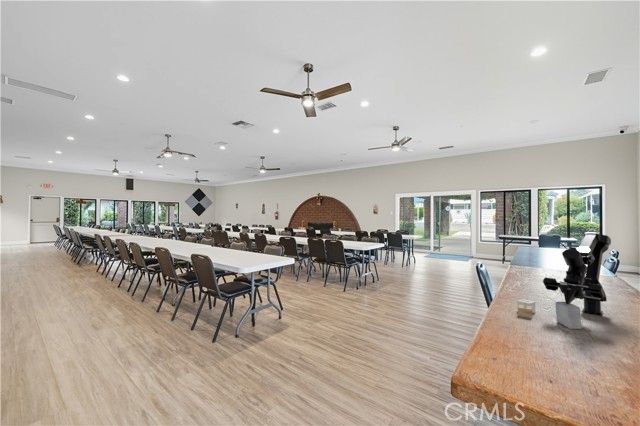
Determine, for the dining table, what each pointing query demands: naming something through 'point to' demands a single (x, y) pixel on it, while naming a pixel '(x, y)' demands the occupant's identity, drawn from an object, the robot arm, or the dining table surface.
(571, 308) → the medicine box
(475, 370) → the dining table surface
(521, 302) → the grey block
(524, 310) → the oak block
